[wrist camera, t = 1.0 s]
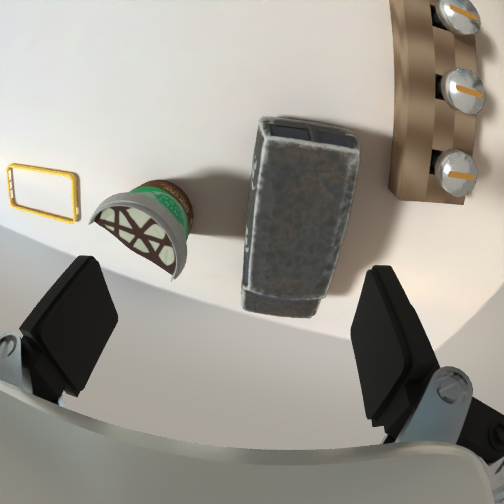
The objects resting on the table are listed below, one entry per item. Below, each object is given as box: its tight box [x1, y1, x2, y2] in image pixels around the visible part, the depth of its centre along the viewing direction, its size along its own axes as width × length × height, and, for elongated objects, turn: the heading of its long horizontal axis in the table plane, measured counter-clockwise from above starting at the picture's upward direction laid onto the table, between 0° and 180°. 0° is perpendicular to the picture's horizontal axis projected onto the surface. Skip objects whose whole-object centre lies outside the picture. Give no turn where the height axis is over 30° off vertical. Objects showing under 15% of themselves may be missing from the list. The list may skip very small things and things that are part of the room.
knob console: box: [388, 0, 477, 205], centre depth 23 cm, size 28×10×4 cm, turn 3°
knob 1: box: [431, 0, 481, 35], centre depth 15 cm, size 5×5×6 cm
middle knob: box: [435, 68, 485, 114], centre depth 20 cm, size 5×5×6 cm
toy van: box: [241, 117, 360, 318], centre depth 32 cm, size 11×25×10 cm, turn 175°
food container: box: [88, 180, 193, 281], centre depth 32 cm, size 12×6×10 cm, turn 52°
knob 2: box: [430, 148, 477, 197], centre depth 25 cm, size 5×5×6 cm
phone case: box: [6, 164, 78, 224], centre depth 36 cm, size 8×17×1 cm, turn 76°
